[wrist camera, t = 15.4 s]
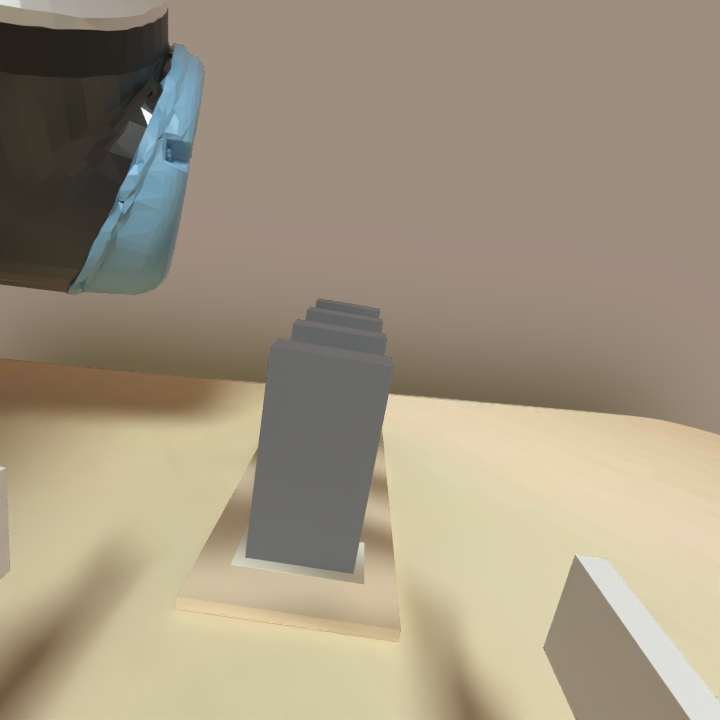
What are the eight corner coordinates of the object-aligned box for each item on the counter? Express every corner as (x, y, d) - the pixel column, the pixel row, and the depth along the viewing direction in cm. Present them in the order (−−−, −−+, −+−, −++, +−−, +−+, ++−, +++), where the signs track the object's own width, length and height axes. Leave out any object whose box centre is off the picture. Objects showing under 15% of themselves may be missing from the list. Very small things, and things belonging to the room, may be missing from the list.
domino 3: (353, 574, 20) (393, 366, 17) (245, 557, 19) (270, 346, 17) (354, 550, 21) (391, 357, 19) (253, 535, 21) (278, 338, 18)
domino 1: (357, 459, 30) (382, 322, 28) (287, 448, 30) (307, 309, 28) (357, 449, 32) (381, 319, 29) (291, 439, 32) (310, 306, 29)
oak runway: (398, 641, 17) (400, 629, 17) (175, 609, 17) (176, 596, 17) (379, 419, 40) (380, 413, 40) (284, 404, 40) (285, 397, 40)
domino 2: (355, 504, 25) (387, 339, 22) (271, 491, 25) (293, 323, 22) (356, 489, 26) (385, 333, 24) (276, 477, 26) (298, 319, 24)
